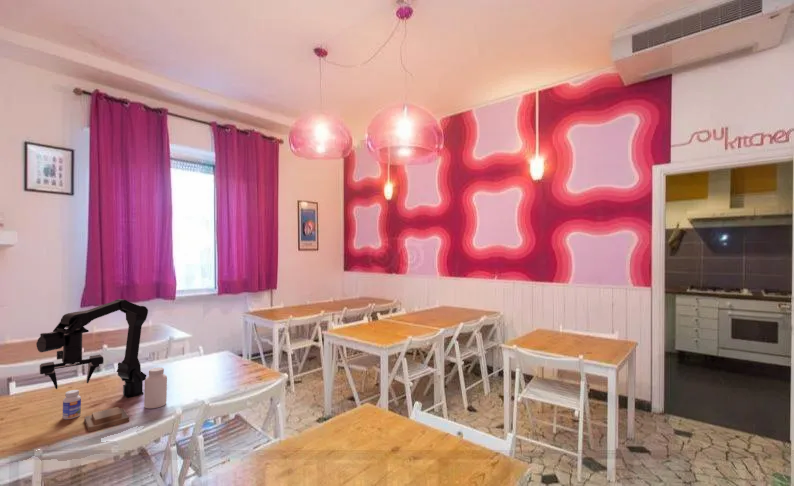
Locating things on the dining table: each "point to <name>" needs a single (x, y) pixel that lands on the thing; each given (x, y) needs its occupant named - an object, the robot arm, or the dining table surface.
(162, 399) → the pill bottle
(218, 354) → the dining table surface
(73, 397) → the pill bottle
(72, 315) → the robot arm
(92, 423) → the walnut stand
